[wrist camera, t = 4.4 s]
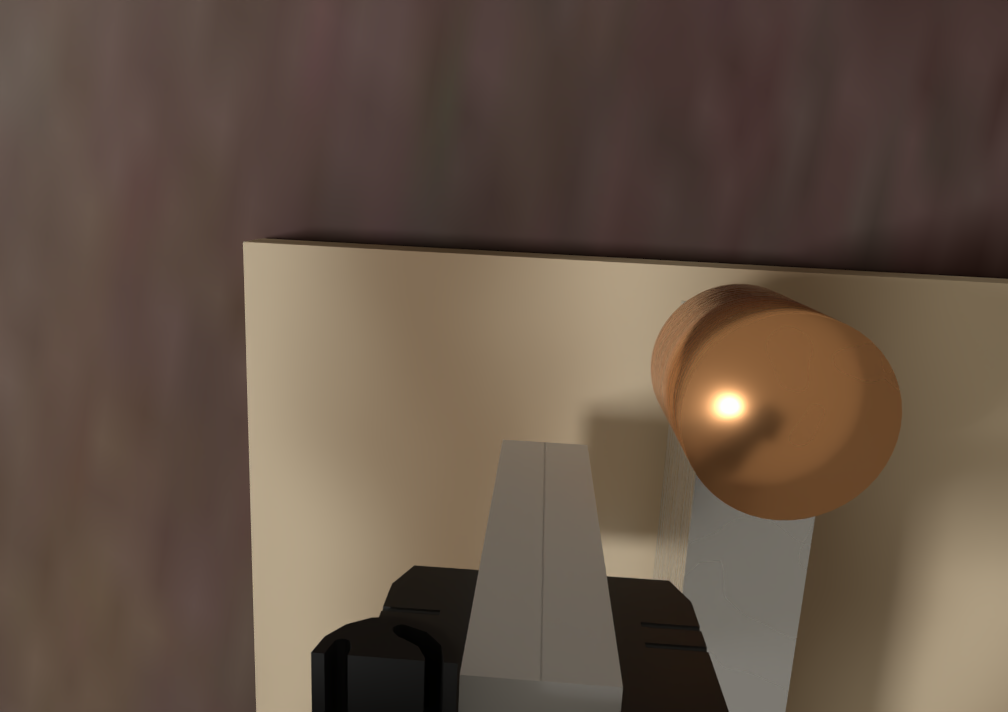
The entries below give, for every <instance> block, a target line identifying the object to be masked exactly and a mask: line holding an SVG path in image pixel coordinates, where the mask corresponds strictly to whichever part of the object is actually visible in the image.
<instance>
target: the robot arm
mask: <svg viewBox="0 0 1008 712" xmlns="http://www.w3.org/2000/svg"><path fill="white" fill-rule="evenodd" d="M311 693H312V712H729V710H728V708H727V705H726V702H725V699H724V696H723V693H722V690H721V687H720V684H719V681H718V678H717V675H716V672H715V669H714V667H713V664H712V661H711V658H710V655H709V652H707V646H706V643H705V640H704V637H703V634H702V631H700V626H699V623H698V620H697V617H696V614H695V611H694V608H693V605H692V602H691V601H690V600H689V599H688V598H687V597H686V596H685V595H684V594H683V593H682V592H680V591H679V590H678V589H677V588H676V587H675V586H674V585H673V584H672V583H671V582H670V581H668V580H653V579H639V578H625V577H611V576H607V575H606V568H605V562H604V555H603V548H602V541H601V534H600V528H599V521H598V514H597V507H596V500H595V494H594V487H593V480H592V473H591V466H590V460H589V453H588V446H587V445H580V444H564V443H548V442H532V441H516V440H503V441H502V446H501V452H500V457H499V463H498V468H497V474H496V479H495V485H494V490H493V496H492V501H491V506H490V512H489V517H488V523H487V528H486V534H485V539H484V545H483V550H482V556H481V561H480V567H479V570H473V569H459V568H445V567H430V566H416V565H414V566H413V567H412V568H410V569H409V570H408V571H407V572H406V573H404V574H403V575H402V576H401V577H399V578H398V579H397V580H396V581H395V582H393V583H392V585H391V587H390V590H389V592H388V595H387V597H386V600H385V603H384V605H383V611H381V613H380V615H379V617H371V618H368V619H364V620H360V621H356V622H353V623H349V624H346V625H344V626H342V627H340V628H338V629H337V630H335V631H333V632H331V633H330V634H328V635H326V636H324V638H323V639H322V640H321V641H320V642H319V644H318V645H317V646H316V647H315V648H314V649H313V651H312V652H311Z"/></svg>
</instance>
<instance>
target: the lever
mask: <svg viewBox="0 0 1008 712" xmlns="http://www.w3.org/2000/svg"><path fill="white" fill-rule="evenodd" d="M651 380H652V385H653V389H654V393H655V395H656V398H657V400H658V403H659V404H660V406H661V408H662V410H663V412H664V414H665V416H666V418H667V420H668V422H669V427H668V436H667V446H666V456H665V465H664V475H663V485H662V495H661V504H660V514H659V524H658V533H657V543H656V553H655V563H654V572H653V580H668V581H670V582H671V583H672V584H673V585H674V586H675V587H676V588H677V589H678V590H679V591H680V592H682V593H683V594H684V595H685V596H686V597H687V598H688V599H689V600H690V601H691V602H692V605H693V608H694V611H695V614H696V617H697V620H698V623H699V626H700V631H702V634H703V637H704V640H705V643H706V646H707V652H709V655H710V658H711V661H712V664H713V667H714V669H715V672H716V675H717V678H718V681H719V684H720V687H721V690H722V693H723V696H724V699H725V702H726V705H727V708H728V710H729V712H785V711H786V704H787V698H788V691H789V685H790V678H791V671H792V665H793V658H794V652H795V645H796V639H797V632H798V626H799V619H800V613H801V606H802V600H803V593H804V586H805V580H806V573H807V567H808V560H809V554H810V547H811V541H812V534H813V528H814V521H815V516H819V515H822V514H824V513H827V512H830V511H832V510H834V509H837V508H839V507H841V506H843V505H845V504H846V503H848V502H849V501H851V500H852V499H854V498H855V497H857V496H858V495H859V494H860V493H862V492H863V491H864V490H865V489H866V488H868V487H869V485H870V484H871V483H872V482H873V481H874V480H875V479H876V478H877V477H878V476H879V474H880V473H881V471H882V470H883V469H884V467H885V466H886V464H887V462H888V461H889V459H890V457H891V455H892V453H893V451H894V448H895V446H896V443H897V440H898V436H899V432H900V428H901V420H902V400H901V394H900V389H899V385H898V382H897V379H896V376H895V373H894V371H893V369H892V367H891V365H890V364H889V362H888V360H887V359H886V357H885V356H884V355H883V353H882V352H881V350H880V349H879V348H878V347H877V346H876V345H875V344H874V343H873V342H872V341H871V340H870V339H868V338H867V337H866V336H865V335H863V334H862V333H861V332H859V331H857V330H856V329H854V328H852V327H850V326H849V325H847V324H845V323H842V322H840V321H838V320H836V319H834V318H832V317H829V316H827V315H825V314H823V313H821V312H819V311H816V310H814V309H812V308H810V307H808V306H805V305H803V304H801V303H799V302H797V301H795V300H792V299H790V298H788V297H786V296H784V295H782V294H779V293H777V292H775V291H772V290H770V289H767V288H764V287H760V286H756V285H749V284H729V285H722V286H718V287H715V288H711V289H708V290H706V291H703V292H701V293H699V294H697V295H695V296H694V297H692V298H690V299H689V300H687V301H684V300H681V306H680V307H679V308H678V309H677V310H676V311H674V312H673V314H672V315H671V316H670V317H669V318H668V320H667V321H666V322H665V324H664V326H663V327H662V329H661V330H660V332H659V335H658V337H657V339H656V342H655V345H654V348H653V352H652V358H651Z"/></svg>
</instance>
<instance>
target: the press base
mask: <svg viewBox="0 0 1008 712" xmlns="http://www.w3.org/2000/svg"><path fill="white" fill-rule="evenodd" d="M243 253H244V289H245V324H246V360H247V395H248V430H249V466H250V501H251V537H252V572H253V608H254V643H255V679H256V712H312V693H311V652H312V651H313V649H314V648H315V647H316V646H317V645H318V644H319V642H320V641H321V640H322V639H323V638H324V636H326V635H328V634H330V633H331V632H333V631H335V630H337V629H338V628H340V627H342V626H344V625H346V624H349V623H353V622H356V621H360V620H364V619H368V618H371V617H379V615H380V613H381V611H383V605H384V603H385V600H386V597H387V595H388V592H389V590H390V587H391V585H392V583H393V582H395V581H396V580H397V579H398V578H399V577H401V576H402V575H403V574H404V573H406V572H407V571H408V570H409V569H410V568H412V567H413V566H414V565H416V566H430V567H445V568H459V569H473V570H479V567H480V561H481V556H482V550H483V545H484V539H485V534H486V528H487V523H488V517H489V512H490V506H491V501H492V496H493V490H494V485H495V479H496V474H497V468H498V463H499V457H500V452H501V446H502V441H503V440H516V441H532V442H548V443H564V444H580V445H587V446H588V453H589V460H590V466H591V473H592V480H593V487H594V494H595V500H596V507H597V514H598V521H599V528H600V534H601V541H602V548H603V555H604V562H605V568H606V575H607V576H611V577H625V578H639V579H653V572H654V563H655V553H656V543H657V533H658V524H659V514H660V504H661V495H662V485H663V475H664V465H665V456H666V446H667V436H668V427H669V422H668V420H667V418H666V416H665V414H664V412H663V410H662V408H661V406H660V404H659V403H658V400H657V398H656V395H655V393H654V389H653V385H652V380H651V358H652V352H653V348H654V345H655V342H656V339H657V337H658V335H659V332H660V330H661V329H662V327H663V326H664V324H665V322H666V321H667V320H668V318H669V317H670V316H671V315H672V314H673V312H674V311H676V310H677V309H678V308H679V307H680V306H681V300H684V301H687V300H689V299H690V298H692V297H694V296H695V295H697V294H699V293H701V292H703V291H706V290H708V289H711V288H715V287H718V286H722V285H729V284H749V285H756V286H760V287H764V288H767V289H770V290H772V291H775V292H777V293H779V294H782V295H784V296H786V297H788V298H790V299H792V300H795V301H797V302H799V303H801V304H803V305H805V306H808V307H810V308H812V309H814V310H816V311H819V312H821V313H823V314H825V315H827V316H829V317H832V318H834V319H836V320H838V321H840V322H842V323H845V324H847V325H849V326H850V327H852V328H854V329H856V330H857V331H859V332H861V333H862V334H863V335H865V336H866V337H867V338H868V339H870V340H871V341H872V342H873V343H874V344H875V345H876V346H877V347H878V348H879V349H880V350H881V352H882V353H883V355H884V356H885V357H886V359H887V360H888V362H889V364H890V365H891V367H892V369H893V371H894V373H895V376H896V379H897V382H898V385H899V389H900V394H901V400H902V420H901V428H900V432H899V436H898V440H897V443H896V446H895V448H894V451H893V453H892V455H891V457H890V459H889V461H888V462H887V464H886V466H885V467H884V469H883V470H882V471H881V473H880V474H879V476H878V477H877V478H876V479H875V480H874V481H873V482H872V483H871V484H870V485H869V487H868V488H866V489H865V490H864V491H863V492H862V493H860V494H859V495H858V496H857V497H855V498H854V499H852V500H851V501H849V502H848V503H846V504H845V505H843V506H841V507H839V508H837V509H834V510H832V511H830V512H827V513H824V514H822V515H819V516H815V521H814V528H813V534H812V541H811V547H810V554H809V560H808V567H807V573H806V580H805V586H804V593H803V600H802V606H801V613H800V619H799V626H798V632H797V639H796V645H795V652H794V658H793V665H792V671H791V678H790V685H789V691H788V698H787V704H786V711H785V712H1008V279H1001V278H983V277H964V276H946V275H928V274H909V273H891V272H872V271H854V270H835V269H817V268H799V267H780V266H762V265H743V264H725V263H707V262H688V261H670V260H651V259H633V258H615V257H596V256H578V255H559V254H541V253H523V252H504V251H486V250H467V249H449V248H431V247H412V246H394V245H375V244H357V243H339V242H320V241H302V240H283V239H265V238H262V239H257V240H251V241H246V242H243Z"/></svg>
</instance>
